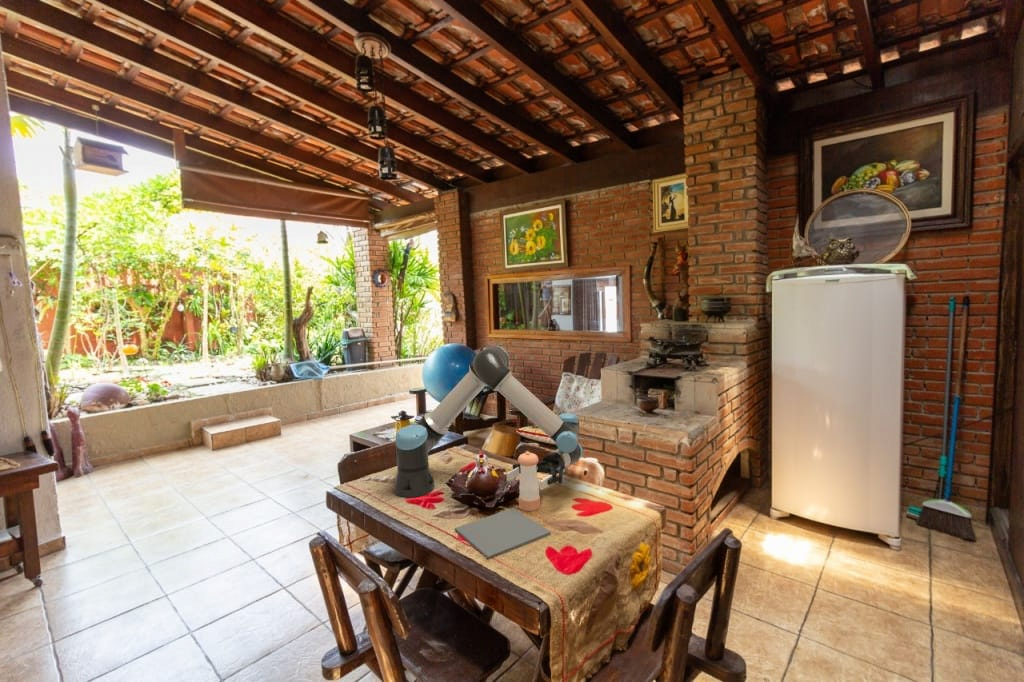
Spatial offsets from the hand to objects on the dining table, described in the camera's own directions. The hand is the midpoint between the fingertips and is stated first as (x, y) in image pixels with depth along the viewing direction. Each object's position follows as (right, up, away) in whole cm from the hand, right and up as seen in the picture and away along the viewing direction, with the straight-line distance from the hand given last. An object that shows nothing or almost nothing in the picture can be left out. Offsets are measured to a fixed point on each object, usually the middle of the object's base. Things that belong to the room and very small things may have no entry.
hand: (523, 481), depth 154 cm
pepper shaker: (+2, -10, +3) cm, 11 cm away
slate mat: (-7, -11, -13) cm, 19 cm away
